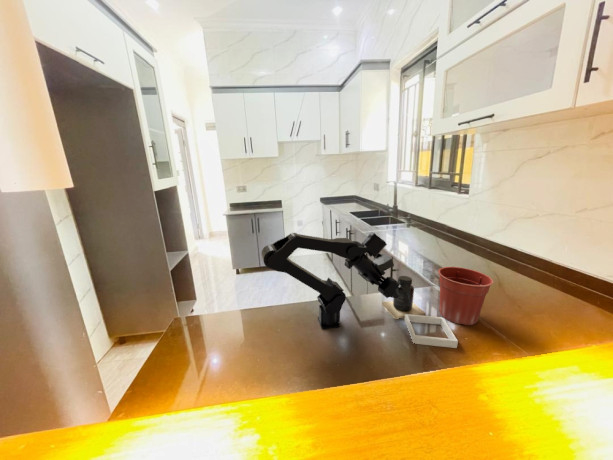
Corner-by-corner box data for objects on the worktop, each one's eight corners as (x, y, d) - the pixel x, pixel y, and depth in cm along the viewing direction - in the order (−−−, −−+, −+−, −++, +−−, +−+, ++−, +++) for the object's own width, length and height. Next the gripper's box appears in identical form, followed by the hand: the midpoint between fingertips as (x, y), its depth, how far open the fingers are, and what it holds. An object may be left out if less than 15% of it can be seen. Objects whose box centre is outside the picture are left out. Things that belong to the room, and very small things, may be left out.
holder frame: (412, 343, 78) (413, 336, 77) (404, 319, 90) (404, 313, 89) (456, 348, 76) (458, 341, 75) (442, 323, 88) (443, 317, 87)
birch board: (394, 319, 90) (395, 316, 90) (381, 304, 100) (382, 302, 99) (425, 316, 92) (425, 313, 92) (409, 302, 102) (409, 299, 101)
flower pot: (476, 308, 97) (483, 269, 94) (492, 333, 82) (501, 289, 78) (429, 301, 102) (434, 264, 98) (437, 324, 87) (443, 281, 83)
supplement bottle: (416, 311, 93) (419, 281, 90) (399, 313, 92) (402, 283, 89) (404, 301, 100) (407, 273, 97) (389, 303, 98) (391, 275, 95)
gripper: (397, 257, 78) (422, 286, 84) (367, 241, 96) (390, 266, 101) (372, 283, 78) (399, 311, 83) (347, 262, 95) (371, 286, 101)
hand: (389, 291), depth 92 cm, fingers open, 9 cm apart
